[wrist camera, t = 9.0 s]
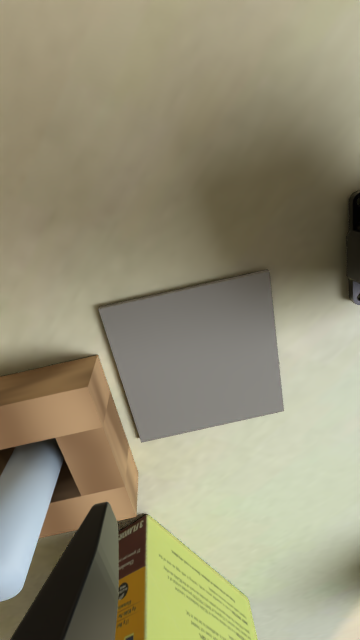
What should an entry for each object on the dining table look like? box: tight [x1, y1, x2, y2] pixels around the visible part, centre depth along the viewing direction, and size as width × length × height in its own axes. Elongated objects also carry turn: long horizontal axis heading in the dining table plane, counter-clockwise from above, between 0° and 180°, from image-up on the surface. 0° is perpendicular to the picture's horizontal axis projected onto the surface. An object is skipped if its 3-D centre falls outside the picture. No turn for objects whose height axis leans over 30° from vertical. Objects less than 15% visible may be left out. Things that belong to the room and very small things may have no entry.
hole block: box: [0, 355, 138, 538], centre depth 21 cm, size 10×10×4 cm
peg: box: [0, 438, 64, 602], centre depth 18 cm, size 3×3×9 cm
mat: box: [98, 270, 284, 443], centre depth 21 cm, size 10×10×1 cm
